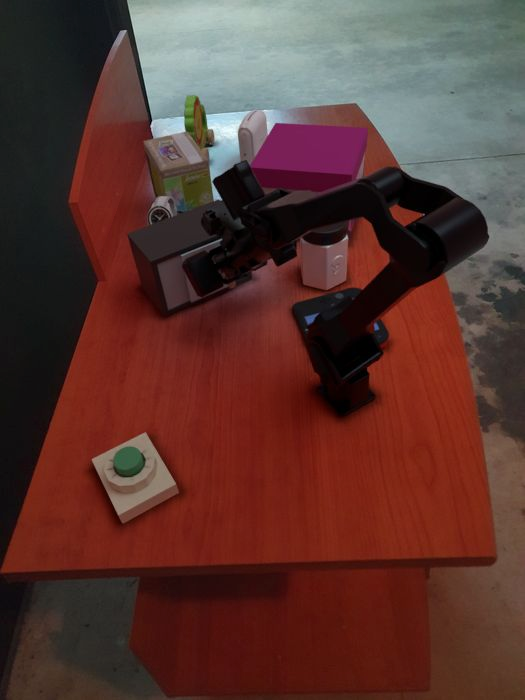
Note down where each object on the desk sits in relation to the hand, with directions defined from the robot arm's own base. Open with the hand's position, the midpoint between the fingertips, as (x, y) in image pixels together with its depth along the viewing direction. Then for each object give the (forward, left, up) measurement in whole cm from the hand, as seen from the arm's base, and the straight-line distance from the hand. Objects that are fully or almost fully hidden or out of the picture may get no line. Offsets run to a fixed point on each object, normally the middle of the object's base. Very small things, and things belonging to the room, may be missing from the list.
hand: (225, 268), depth 98 cm
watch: (+20, +2, -7) cm, 21 cm away
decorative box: (+13, -27, -7) cm, 31 cm away
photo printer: (+39, -29, -7) cm, 49 cm away
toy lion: (+52, -21, -7) cm, 57 cm away
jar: (-5, -17, -7) cm, 19 cm away
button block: (-26, +29, -7) cm, 39 cm away
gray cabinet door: (0, +2, -5) cm, 6 cm away
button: (-26, +29, -3) cm, 39 cm away
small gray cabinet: (+7, +3, -7) cm, 10 cm away
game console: (-18, -11, -7) cm, 22 cm away
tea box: (+30, -6, -7) cm, 32 cm away
